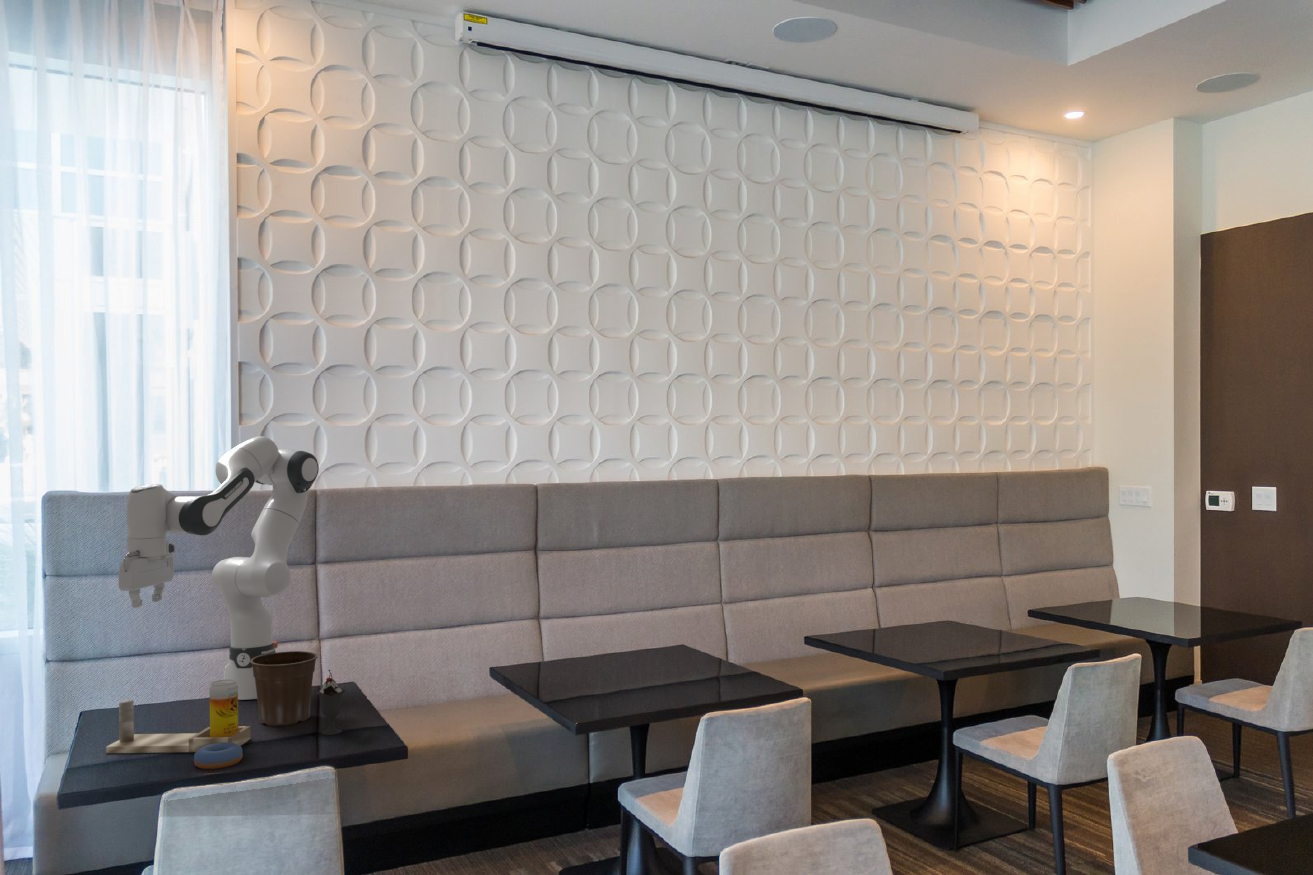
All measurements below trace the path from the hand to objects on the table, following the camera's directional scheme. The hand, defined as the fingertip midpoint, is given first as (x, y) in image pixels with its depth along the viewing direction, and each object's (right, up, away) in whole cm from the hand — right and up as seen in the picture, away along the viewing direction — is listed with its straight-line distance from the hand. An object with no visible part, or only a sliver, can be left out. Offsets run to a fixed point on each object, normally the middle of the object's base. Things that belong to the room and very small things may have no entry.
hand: (147, 604), depth 248 cm
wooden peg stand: (+16, -30, -17) cm, 38 cm away
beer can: (+27, -31, -17) cm, 44 cm away
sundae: (+48, -31, -7) cm, 58 cm away
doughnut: (+31, -31, -30) cm, 53 cm away
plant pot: (+33, -31, +5) cm, 45 cm away
